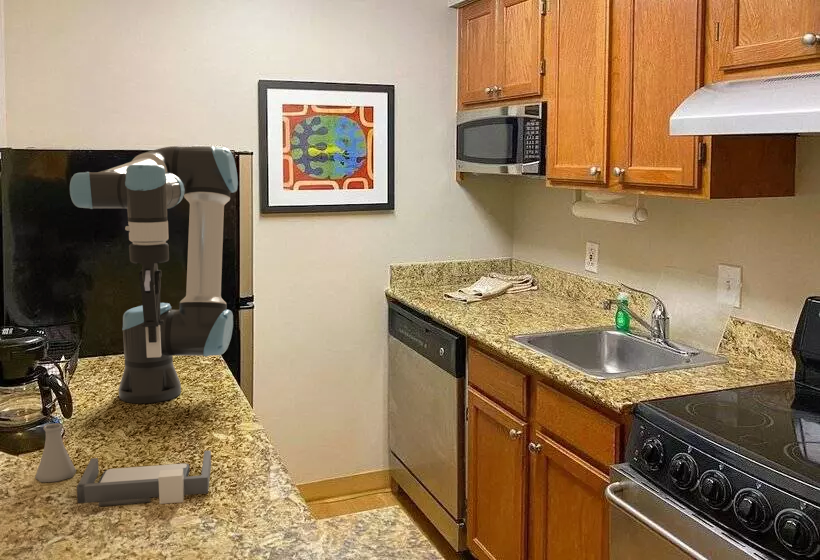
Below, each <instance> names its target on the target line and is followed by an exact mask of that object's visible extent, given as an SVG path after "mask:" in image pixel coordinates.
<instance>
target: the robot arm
mask: <svg viewBox="0 0 820 560" xmlns="http://www.w3.org/2000/svg"><path fill="white" fill-rule="evenodd" d="M236 166H237V165H236V161H235V158H234V155H233V153H232V152H231V150H230V149H228V148H227V147H221V146H220V147H219V146H214V145H211V146H179V145H177V146H175V145H174V146H164V147H160V148H157V149H153V150H150V151H146V152H142V153H139V154H138V155H135V156H134V158H133V159H132V160H131V161H129V162H126V163H124V164H120V165H117V166H114V167H111V168H109V169H105V170H101V171H98V172H94V171H93V172H90V171H85V172H77V173H74V174H73V176H71V178H70V182H69V195H70V198H71V202H72V203H73V205H74V206H75V207H77V208H81V209H82V208H83V209H90V210H93V209H126V210H127V222H128V223H127V224H128V225H126V226H125V228H124V230H125V231H128V240H129V241H130V242H131V243H130V244H129V245H128V251H129V261H130V263H132V264H140V265H141V266H142V267H141V270H140V271H139V272H138V279H139V281H140V283H139V286H140V293H141V302H142V303H141V305H138V306H136V307H132V308H130V309H127V310H126V311H124V313H123V315H122V329H121V330H122V335H123V338H122V339H123V354H124V356H123V358H124V370H123V373H122V376H121V380H120V383H119V387H118V396H119V397H118V398H119V399H120V400H121V401H123V402H126V403H131V404H152V403H153V404H155V403H159V402H160V403H161V402H165V401H168V400H171V399H175V398H177V397H179V396H180V395H181V393H182V386H181V385H182V383H181V381H180V378H179V375H178V373H177V371H176V368H175V366H174V360H173V356H177V357H178V356H180V357H181V356H185V357H186V356H187V357H188V356H189V357H190V356H192V357H197V356H200V357H202V356H203V357H209V356H210V357H211V356H221V355H223V354H224V353H225V352H226V351H227V350H228V348H229V345H230V342H231V339H232V335H233V328H234V315H233V312H232V310H230V309H227V308H228V307H227V306H228V305H227V302H226V301H225V300H224V299H223V298H222V275H223V273H222V272H223V270H222V269H223V245H224V244H223V243H224V217H225V216H224V213H225V205H226V204H227V203H228V202H230V200H231V193H233V194H234V193H236V192H237V191H238V186H239V181H238V172H237V171H238V170H237V167H236ZM183 198H184V199H185V200H186V201H187V202H188V204H189V214H188V215H189V220H188V239H187V240H188V243H187V266H186V268H187V270H186V288H185V289H186V290H185V291H186V292H185V296H184V297H183V298H182V299H181V300H180V301H179V306H178V307H179V309H172V306H171V304H170V302H169V303H168V302H161V288H162V286H161V283H162V282H161V281H162V280H161V278H162V276H163V275H162V270H161V269H159V265H158V264H162V263H167V262H169V260H170V251H169V250H170V249H169V246H170V245H169V244H168V242H167V241H168V240H169V236H170V235H169V221H168V209H169V210H170V209H172V208H174V207H176V206H177V205H178V204H179V203H181V201H182V200H184V199H183Z"/></svg>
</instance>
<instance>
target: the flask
mask: <svg viewBox="0 0 820 560" xmlns="http://www.w3.org/2000/svg"><path fill="white" fill-rule="evenodd" d="M62 428H63V425H62V424H61V423H60V422H59V423H56V422H55V423H49V424H45V425H44V426H43V431H45V440H44V441H45V443H44V447H43V452H42V453H41V454H42V455H41V459H40V461H39V464H38V467H37V470H36V474H35V476H34V478H35V479H36V480H37V481H39V483H52V482H60V481H64V480H66V479H71V478H73V477H74V475H75V474H76V473H77V469H76V467H75V466H74V463H73V461H72V458H71V457H70V455H69V453H68V450H67V449H66V447H65V444H64V441H63V437H62V430H61V429H62Z"/></svg>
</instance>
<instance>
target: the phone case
mask: <svg viewBox="0 0 820 560" xmlns="http://www.w3.org/2000/svg"><path fill="white" fill-rule="evenodd" d="M175 469H183V474H184V477H186V476H190V475H189V474H190V471H191V470H190V469H191V468H190V464H189V463H186V462H184V463H182V462H181V463H171V464H170V463H169V464H158V465H155V464H154V465H144V466H142V465H141V466H130V467H129V466H128V467H118V468H109V469H105V470H104V471H103V473H102V475H101V477H100V479H99V481H98V482H97V483H104V482H117V481H131V480H145V479H158V477H159V473H160V471H161V470H175Z"/></svg>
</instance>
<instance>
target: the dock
mask: <svg viewBox="0 0 820 560" xmlns="http://www.w3.org/2000/svg"><path fill="white" fill-rule="evenodd" d="M202 459H203V460H202V467H201V475H188V476H186V477H184V474H183V469H175V470H161V471H160V473H159V477H158V479H145V480H131V481H117V482H104V483H98V482H96V479H97V477H98V475H99V473H100V471H99V469H100V468H99V458H98V457H92V458H90V460H89V462H88V463H87V466H86V469H85V470H84V473H83V474H82V476H81V477H80V480H79V482H78V483H77V486H76V496H77V503H78V504H83V503H84V504H86V503H96V502H97V503H98V506H99V507H106V506H120V505H131V504H143V503H144V504H145V503H151V498H159V505H162V504H163V505H164V504H173V503H174V504H177V503H184V499H185V495H187V496H188V495H198V494H199V495H200V494H209V490H210V489H209V488H210V487H209V486H210V477H211V469H212V451H211V450H204V452H203V458H202Z"/></svg>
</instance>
